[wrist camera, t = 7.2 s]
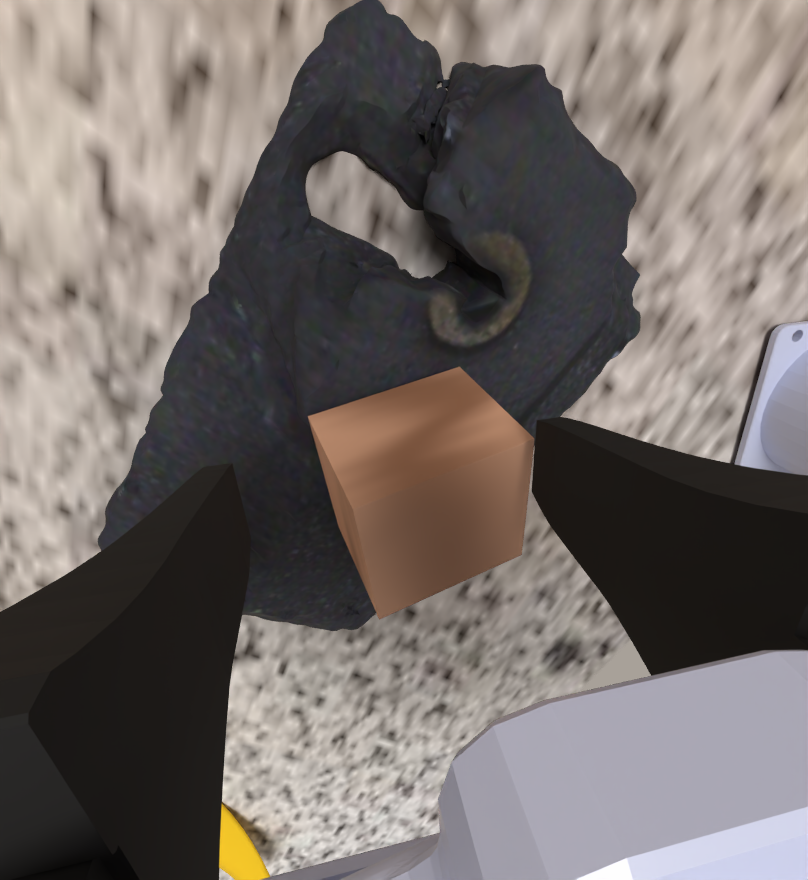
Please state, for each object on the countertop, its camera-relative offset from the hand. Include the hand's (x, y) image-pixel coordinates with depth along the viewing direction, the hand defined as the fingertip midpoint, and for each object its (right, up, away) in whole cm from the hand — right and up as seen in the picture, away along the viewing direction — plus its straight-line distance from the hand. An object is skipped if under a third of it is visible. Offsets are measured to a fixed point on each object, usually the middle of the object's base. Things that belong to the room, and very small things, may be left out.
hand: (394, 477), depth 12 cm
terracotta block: (0, +1, +5) cm, 5 cm away
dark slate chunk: (-1, +3, +8) cm, 9 cm away
